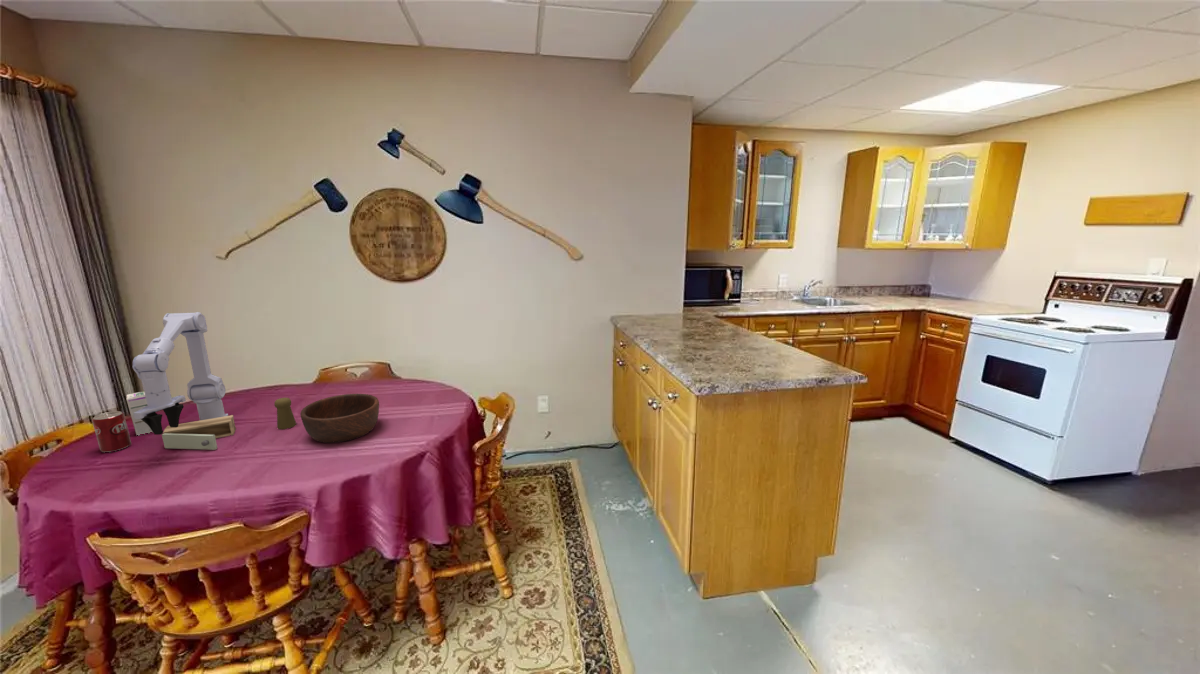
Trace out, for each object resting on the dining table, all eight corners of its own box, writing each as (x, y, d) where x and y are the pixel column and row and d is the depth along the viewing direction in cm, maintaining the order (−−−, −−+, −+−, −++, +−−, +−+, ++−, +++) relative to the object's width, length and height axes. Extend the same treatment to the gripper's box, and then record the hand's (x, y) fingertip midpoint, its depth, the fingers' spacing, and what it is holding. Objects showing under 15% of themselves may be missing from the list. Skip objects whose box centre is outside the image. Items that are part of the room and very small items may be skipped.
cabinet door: (167, 446, 152) (164, 433, 151) (217, 448, 151) (214, 434, 150) (161, 449, 150) (158, 436, 149) (211, 451, 149) (208, 437, 148)
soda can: (96, 455, 147) (86, 421, 144) (106, 445, 153) (98, 413, 150) (126, 450, 150) (117, 417, 147) (135, 441, 156) (127, 409, 153)
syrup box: (158, 431, 164) (149, 394, 161) (135, 436, 160) (126, 398, 156) (157, 426, 168) (148, 390, 164) (135, 431, 164) (125, 394, 160)
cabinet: (170, 440, 157) (167, 425, 156) (235, 428, 167) (233, 415, 165) (166, 447, 152) (162, 432, 151) (233, 434, 162) (230, 420, 161)
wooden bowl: (295, 431, 165) (291, 405, 163) (366, 412, 183) (363, 388, 181) (316, 454, 149) (312, 426, 146) (392, 431, 167) (389, 405, 164)
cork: (286, 430, 166) (281, 402, 163) (273, 428, 167) (268, 401, 165) (300, 423, 172) (295, 396, 169) (287, 422, 173) (282, 395, 170)
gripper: (145, 399, 133) (155, 441, 137) (190, 383, 148) (199, 421, 151) (123, 398, 134) (133, 440, 137) (170, 382, 148) (178, 420, 151)
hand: (166, 430), depth 144 cm, fingers open, 5 cm apart
